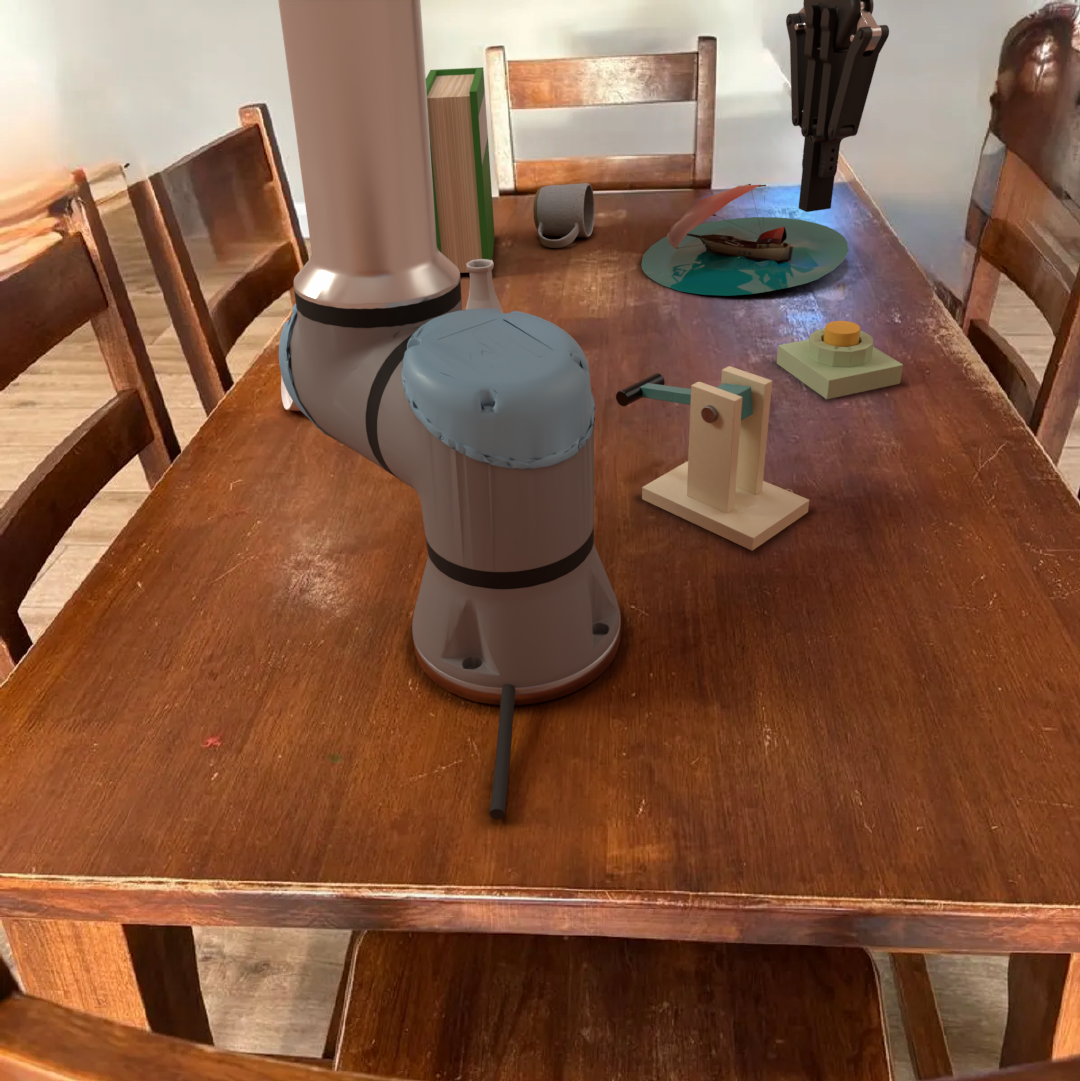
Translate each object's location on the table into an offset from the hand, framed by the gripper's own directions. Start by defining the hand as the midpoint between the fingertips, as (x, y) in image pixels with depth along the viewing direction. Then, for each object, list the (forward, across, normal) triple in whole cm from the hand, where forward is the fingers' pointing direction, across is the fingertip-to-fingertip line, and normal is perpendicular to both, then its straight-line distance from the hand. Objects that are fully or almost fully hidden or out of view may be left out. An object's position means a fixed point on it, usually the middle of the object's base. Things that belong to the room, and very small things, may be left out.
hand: (814, 208), depth 99 cm
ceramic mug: (+18, +57, +5) cm, 60 cm away
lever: (+10, -16, +21) cm, 29 cm away
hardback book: (+18, +55, +21) cm, 62 cm away
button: (+15, -1, -4) cm, 15 cm away
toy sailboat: (+18, +35, -13) cm, 41 cm away
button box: (+18, -1, -4) cm, 19 cm away
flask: (+18, +23, +28) cm, 41 cm away
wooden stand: (+18, -20, +19) cm, 33 cm away
